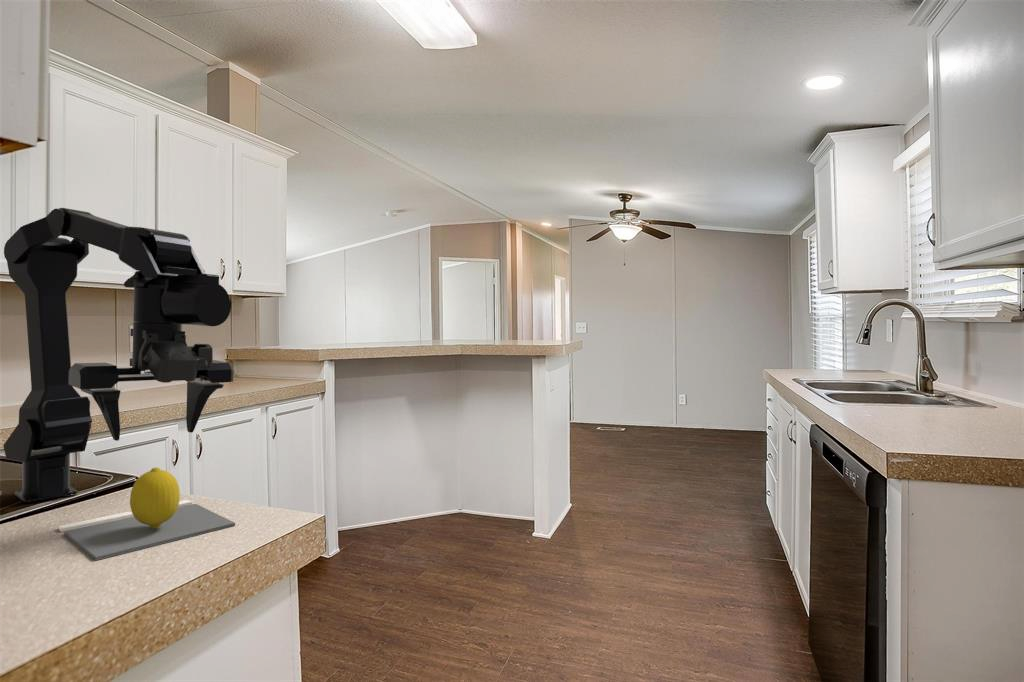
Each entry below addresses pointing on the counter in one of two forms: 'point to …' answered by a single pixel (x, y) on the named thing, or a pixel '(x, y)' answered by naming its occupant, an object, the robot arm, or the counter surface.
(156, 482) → the lemon
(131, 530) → the mat
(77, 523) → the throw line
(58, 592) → the counter surface
